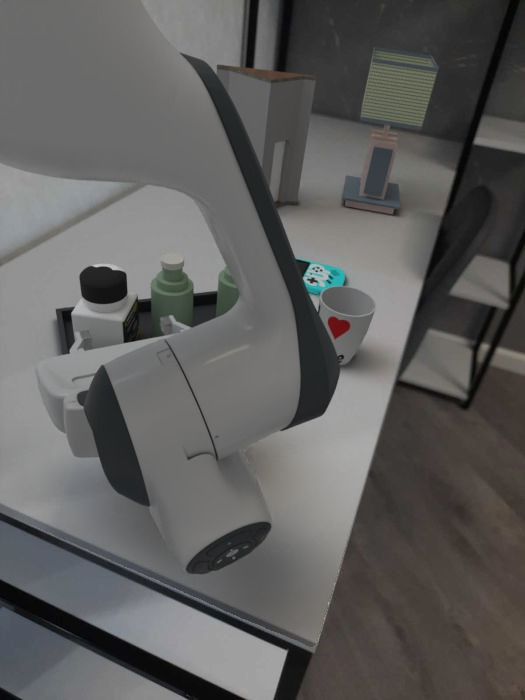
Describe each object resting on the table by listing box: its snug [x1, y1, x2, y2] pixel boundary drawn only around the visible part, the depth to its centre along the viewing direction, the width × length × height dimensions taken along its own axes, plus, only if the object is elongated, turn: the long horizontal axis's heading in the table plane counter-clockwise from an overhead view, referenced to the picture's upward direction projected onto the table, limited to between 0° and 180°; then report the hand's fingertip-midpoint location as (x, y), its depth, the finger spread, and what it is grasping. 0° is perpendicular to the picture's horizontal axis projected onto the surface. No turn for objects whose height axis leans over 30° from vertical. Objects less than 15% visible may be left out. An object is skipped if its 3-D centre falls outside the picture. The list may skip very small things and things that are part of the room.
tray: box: [55, 290, 218, 355], centre depth 78 cm, size 32×16×2 cm, turn 112°
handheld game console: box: [295, 257, 346, 296], centre depth 98 cm, size 10×16×1 cm, turn 73°
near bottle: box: [150, 252, 195, 338], centre depth 75 cm, size 6×6×13 cm
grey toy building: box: [216, 63, 317, 208], centre depth 114 cm, size 21×10×28 cm, turn 92°
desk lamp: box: [341, 46, 439, 215], centre depth 124 cm, size 18×14×33 cm
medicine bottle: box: [71, 263, 139, 349], centre depth 72 cm, size 7×7×12 cm
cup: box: [317, 285, 377, 366], centre depth 77 cm, size 8×8×10 cm
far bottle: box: [216, 265, 239, 318], centre depth 78 cm, size 6×6×13 cm
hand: (125, 328), depth 58 cm, fingers open, 8 cm apart
